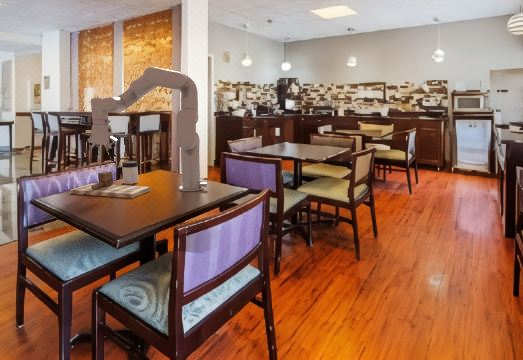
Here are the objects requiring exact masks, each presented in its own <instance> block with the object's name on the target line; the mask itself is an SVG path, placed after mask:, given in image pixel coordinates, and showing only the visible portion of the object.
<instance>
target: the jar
mask: <svg viewBox="0 0 523 360" xmlns="http://www.w3.org/2000/svg"><path fill="white" fill-rule="evenodd" d="M121 166H122V167H121V168H122V181H123V182H122V183H123V184H124V185H133V184H134V183H135V184H138V183H139V171H138V161H137V160H136V161H135V160H126V161H122V163H121Z"/></svg>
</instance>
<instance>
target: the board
mask: <svg viewBox="0 0 523 360" xmlns="http://www.w3.org/2000/svg"><path fill="white" fill-rule="evenodd" d="M94 184H98V182H97V183H93V182H92V183H89V184H85V185H82V186H78V187H75V188H72V189H70V194H71V193H74V194H73V195H84V194H86V195H87V196H97V197H98V196H99V197H101V196H102V197H112V198H125V199H129V198H130V199H134V198H136V197H139V196H141V195H144V194H146V193H148V192H149V193H150V192H151V191H152V190H151V186H144V185H143V186H142V185H141V186H140V185H139V186H138V185H128V184H124V185H123V184H113V185H110V186H107V187H100V188H97V189H91V185H94Z"/></svg>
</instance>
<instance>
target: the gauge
mask: <svg viewBox="0 0 523 360" xmlns="http://www.w3.org/2000/svg"><path fill="white" fill-rule="evenodd" d="M97 177H98V178H97V181H98V182H97V184H94V185H91V189H97V188H100V187H107V186H110V185H114V182H113V172H112V171H107V170H105V171H102V172H98V173H97Z"/></svg>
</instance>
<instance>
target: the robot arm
mask: <svg viewBox="0 0 523 360" xmlns="http://www.w3.org/2000/svg"><path fill="white" fill-rule="evenodd" d="M158 87H161V88H166V89H171V90H177V91H179V92H180V110H179V111H178V112H177V114H176V120H175V121H176V122H175V124H176V126H175V127H176V133H175V134H176V135H175V136H176V143H177V145H178V147H179V148H180V166H181V167H180V168H181V185H180V186H179V188H178V189H179V191H181V192H199V191H202V190H203V189H204V188H207V187H208V183H207V182H203V180H202V179H201V169H200V167H201V166H200V165H201V162H200V136H199V134H198V132H197V123H198V122H199V100H198V98H199V97H198V96H199V95H198V94H199V93H198V92H199V91H198V88H197V85H196V83H195V81H194V79H192V78H191V77H189V76H188V75H186V74H184V73H183V72H180V71H176V70H170V69H165V68H161V67H156V66H148V67H147V68H145V70H144V71H143V74H142V75H141V76H139V77H137V78H136V79H134V80H132V81H131V82H130V85H129V87H128V88H127V90H125V91H124V92H123V93H121V94H119V95H118V96H110V97H93V98H90V108H91V109H90V110H91V116H92V117H91V118H92V125H91V136H90V137H89V138H87V142H88V145H89V146H90V148H91V149H92V153H93V154H92V156H95V157H96V156H98V155H99V148H98V146H100V145H101V146H107V147H108V155H109V157H114V156H115V148H116V146H117V144H118V139H117V138H115V137H114V135H113V129H112V126H111V124H110V123H111V120H109V113H122V112H124V111H126V109H128V108H130V107H132V106H133V105H135V104H136V103H137V102H138V101H140V100H141V99H142V98H143V97H145V96H146V95H147V94H149V93H150V92H152V91H153V90H155V89H156V88H158Z"/></svg>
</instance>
